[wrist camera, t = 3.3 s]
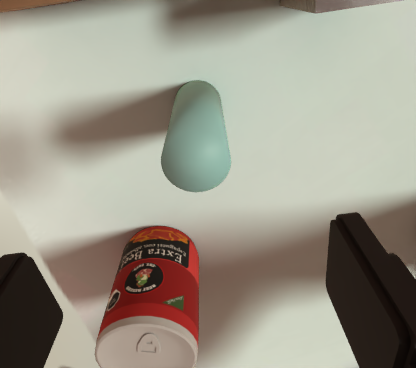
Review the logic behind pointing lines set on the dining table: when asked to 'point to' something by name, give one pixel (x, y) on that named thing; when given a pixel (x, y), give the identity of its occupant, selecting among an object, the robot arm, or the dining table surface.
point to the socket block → (28, 4)
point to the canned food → (153, 304)
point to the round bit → (196, 139)
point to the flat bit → (329, 4)
